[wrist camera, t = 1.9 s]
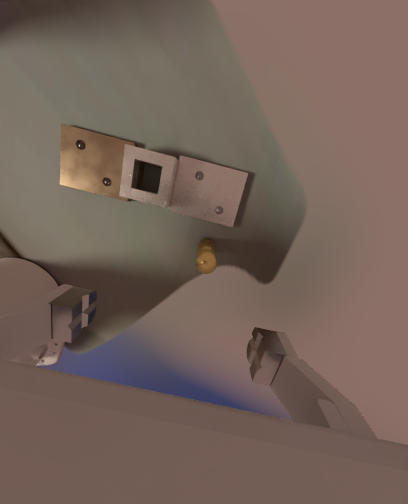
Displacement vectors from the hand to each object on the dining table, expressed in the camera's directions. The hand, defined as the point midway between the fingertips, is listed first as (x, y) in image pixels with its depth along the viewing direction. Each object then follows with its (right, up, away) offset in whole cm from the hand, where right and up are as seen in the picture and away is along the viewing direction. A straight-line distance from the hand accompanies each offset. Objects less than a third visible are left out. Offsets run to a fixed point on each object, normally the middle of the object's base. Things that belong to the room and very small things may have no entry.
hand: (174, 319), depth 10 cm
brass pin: (+2, +5, +22) cm, 22 cm away
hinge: (-6, +14, +19) cm, 24 cm away
